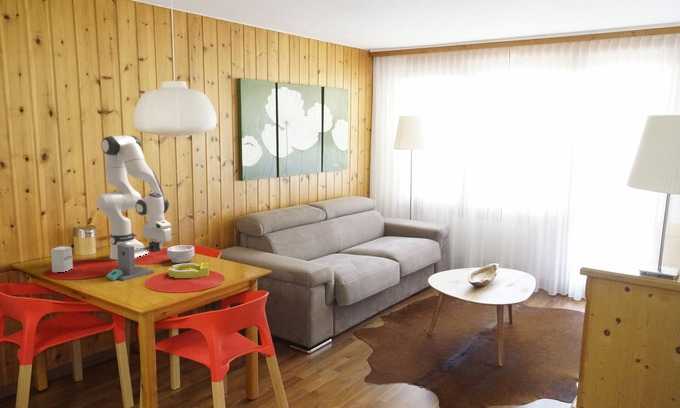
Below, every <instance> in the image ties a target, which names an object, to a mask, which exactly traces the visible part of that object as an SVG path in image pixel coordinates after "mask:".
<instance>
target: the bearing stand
mask: <svg viewBox="0 0 680 408" xmlns="http://www.w3.org/2000/svg"><path fill="white" fill-rule="evenodd" d="M117 250H118V260H117V263H118V264H117V265H118V269H117V270H121V271H122V273H123V274H122V275H121V276H120V277H118V278H117V279H116V280H120V281H127V280H132V279H135V278H139V277H142V276H146V275H150V274H154V273H155V270H154V269H150V268H147V267H142V266H139V265H136V262H135V261H136V260H135V259H136V258H135V256H134V246H130V245H126V244H119V245H117ZM109 273H110V272H108V273H107V274H109Z"/></svg>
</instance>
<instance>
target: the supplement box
mask: <svg viewBox="0 0 680 408" xmlns="http://www.w3.org/2000/svg"><path fill="white" fill-rule="evenodd" d="M50 255H51V256H50V257H51V258H50V259H51V271H52V273H57V272H65V271H67V272H69V271H68V270H70V269H73V270H74V264H73V248H72V246H61V245H60V246H57V247H54V248H52V249H50ZM70 271H71V270H70ZM65 273H66V272H65Z"/></svg>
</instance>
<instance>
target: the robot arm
mask: <svg viewBox="0 0 680 408" xmlns="http://www.w3.org/2000/svg"><path fill="white" fill-rule="evenodd" d="M100 145H101V146H100V147H101V150H102V152H103V153H104V154H105V156H104V163H105V164H104V166H105V174H106V175H105V176H106V182H107V183H108V184H109V185H111V186H113V187H115V188H116V190H117V191H114V192H106V193H103V194H99V196H98V197H97V199H96V207H97V208H98V209H99V210H100V212H102V213H103V214H105V215H106V216H107V219H108V221H109V225H110V243H111V244H110V245H111V246H110V254H109V260H116V261H118V250H117V245H119V244H126V245H130V246H134V250H135V249H140V248H144V247H145V245H144V243H143V242H141V241H139V240H137V239H136V237H138V233H136V232H134V233H133V232H132V222H131V220H130V218H129V217H127V216H124V215H123V213H122V211H126V210H134V209H135V212H136V213H137V214H138V215H140V216H142V217H144V216H145V217H146V216H147V220H146V221H145V222H144V223H143V228H142V236H143V238H145V239H147V240H148V239H150V240H149V242H153V241H157V242H159V243H160V244H159V245H158V248H160V250H161V249H163V246H164V243H169V242H171V241H172V229H171V227H172V224H171V222H169V221H167V219H165V218H166V217H165V213H167V211H168V210H169V207H170V203H169V200H168V198H167V197H166V195H165V194H164V192H163V191H164V190H163V189H162V186H161V185H160V181H159V180H158V177H157V174H156V173H155V172H154V170H152V169H151V168H150V167H149V165H148V164H147V162H146V158H145V155H144V153H143V150H142V142H141V140H140V139H139V137H138V136H134V135H122V134H121V135H113V136H111V135H108V136H105V137H104V138H103V139H102V140H101V143H100ZM128 175H129V176H131V177H132V178H134V179H137V180H141V181H143V182H146V183H147V184H148V186H149V187H150V190H151V193H148V194H147V196H145V197H142V195H141V194H140V192H139V191H137V190H136V189H134V188H133V186H132V185H131V184H130V181H129V178H128ZM148 253H149V254H150V251H149V250H144V251H140V252H135V253H134V256H135V259H138V258H140V257H139V256H141V257H144V256H146V255H145V254H147V255H149V254H148ZM143 255H144V256H143ZM137 257H138V258H137Z"/></svg>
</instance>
